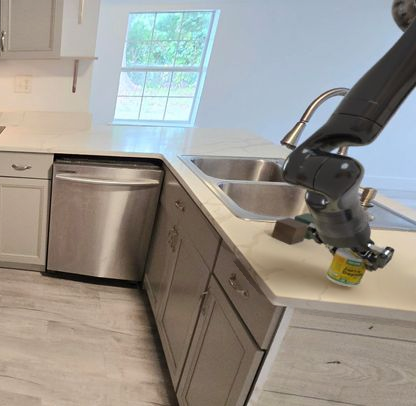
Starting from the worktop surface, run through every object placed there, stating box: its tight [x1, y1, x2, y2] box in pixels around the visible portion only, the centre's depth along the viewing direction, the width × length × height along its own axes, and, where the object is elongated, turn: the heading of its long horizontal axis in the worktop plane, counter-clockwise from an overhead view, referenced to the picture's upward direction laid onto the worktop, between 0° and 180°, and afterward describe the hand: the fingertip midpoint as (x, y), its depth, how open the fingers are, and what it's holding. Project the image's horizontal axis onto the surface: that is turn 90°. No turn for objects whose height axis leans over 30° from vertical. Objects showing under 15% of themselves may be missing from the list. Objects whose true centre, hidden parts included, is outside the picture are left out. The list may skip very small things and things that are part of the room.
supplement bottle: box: [326, 248, 370, 288], centre depth 79 cm, size 5×5×10 cm
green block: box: [293, 212, 313, 240], centre depth 101 cm, size 5×5×5 cm
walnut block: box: [271, 217, 308, 246], centre depth 99 cm, size 5×5×5 cm
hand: (354, 260), depth 79 cm, fingers closed on supplement bottle, 5 cm apart
